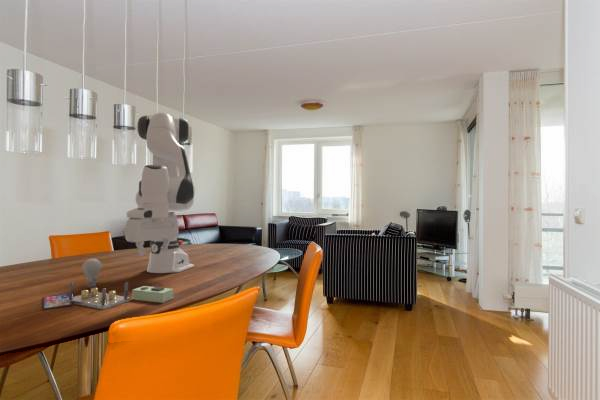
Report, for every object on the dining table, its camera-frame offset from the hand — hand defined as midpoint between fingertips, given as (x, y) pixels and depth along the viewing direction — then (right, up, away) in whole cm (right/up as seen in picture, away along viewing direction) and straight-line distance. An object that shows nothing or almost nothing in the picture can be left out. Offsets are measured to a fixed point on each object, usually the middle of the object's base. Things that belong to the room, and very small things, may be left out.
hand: (153, 253), depth 115 cm
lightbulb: (-28, -15, +11) cm, 34 cm away
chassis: (-16, -15, -4) cm, 23 cm away
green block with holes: (0, -16, 0) cm, 16 cm away
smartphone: (-28, -15, -6) cm, 33 cm away
